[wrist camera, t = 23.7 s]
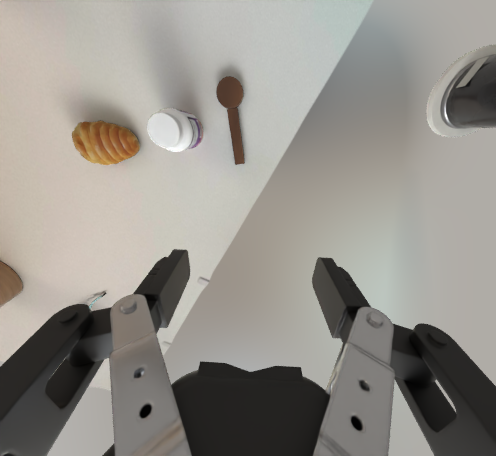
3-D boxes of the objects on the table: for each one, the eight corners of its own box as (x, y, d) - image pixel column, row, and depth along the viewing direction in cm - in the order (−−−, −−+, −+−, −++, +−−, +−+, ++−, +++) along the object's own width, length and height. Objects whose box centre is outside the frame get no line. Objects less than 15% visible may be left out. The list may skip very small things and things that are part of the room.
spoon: (241, 75, 28) (240, 74, 27) (251, 161, 34) (251, 162, 33) (215, 80, 28) (214, 78, 28) (229, 164, 34) (228, 165, 33)
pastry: (134, 118, 31) (119, 117, 28) (147, 161, 34) (135, 164, 31) (80, 123, 32) (59, 122, 28) (98, 164, 35) (81, 168, 31)
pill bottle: (166, 134, 32) (134, 135, 23) (181, 104, 30) (151, 93, 21) (194, 154, 33) (173, 162, 25) (210, 127, 31) (193, 125, 23)
